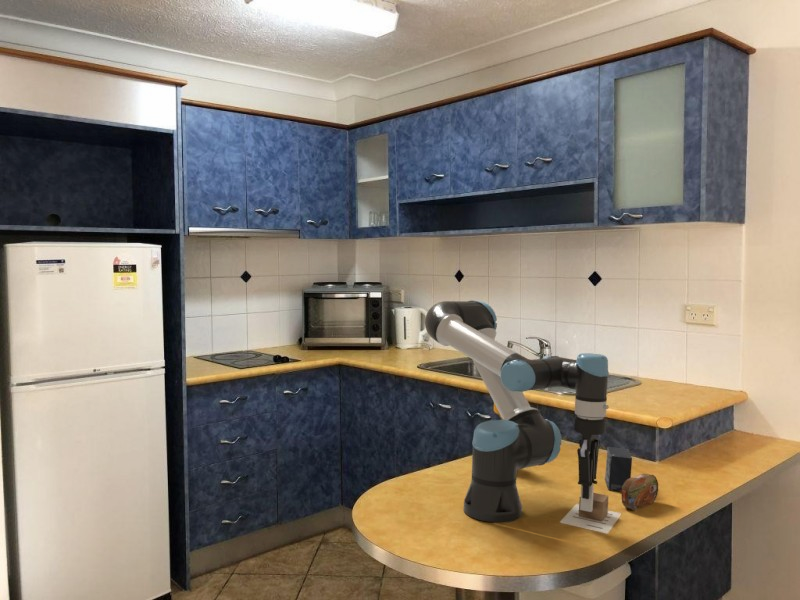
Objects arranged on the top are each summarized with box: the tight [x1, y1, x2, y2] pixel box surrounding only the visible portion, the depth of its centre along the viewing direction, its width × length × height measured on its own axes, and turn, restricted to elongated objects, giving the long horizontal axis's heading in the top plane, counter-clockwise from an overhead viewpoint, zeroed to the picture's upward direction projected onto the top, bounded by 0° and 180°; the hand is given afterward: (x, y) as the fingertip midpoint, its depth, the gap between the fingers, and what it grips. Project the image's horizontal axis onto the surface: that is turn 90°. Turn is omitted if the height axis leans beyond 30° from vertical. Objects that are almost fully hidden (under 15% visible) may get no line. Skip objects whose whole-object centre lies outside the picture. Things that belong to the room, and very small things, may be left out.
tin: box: [621, 473, 659, 511], centre depth 182 cm, size 15×3×8 cm, turn 129°
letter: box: [559, 503, 622, 535], centre depth 172 cm, size 12×16×1 cm
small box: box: [604, 446, 633, 492], centre depth 198 cm, size 11×6×10 cm, turn 168°
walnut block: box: [578, 492, 609, 521], centre depth 173 cm, size 6×6×5 cm
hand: (586, 509), depth 165 cm, fingers closed
